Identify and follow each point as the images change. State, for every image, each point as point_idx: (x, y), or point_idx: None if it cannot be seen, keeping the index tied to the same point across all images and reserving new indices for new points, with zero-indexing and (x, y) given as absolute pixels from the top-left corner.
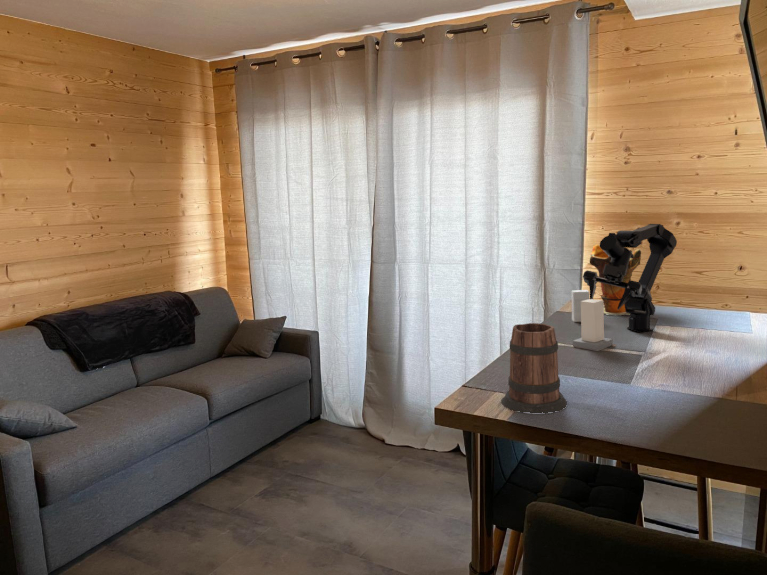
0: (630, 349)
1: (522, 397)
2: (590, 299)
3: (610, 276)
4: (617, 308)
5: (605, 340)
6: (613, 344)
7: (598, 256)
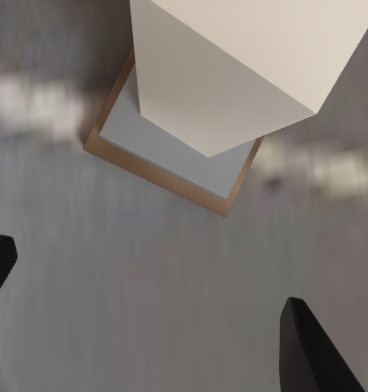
0: (28, 148)
1: None
2: (310, 74)
3: None
4: (12, 238)
5: (132, 101)
6: (100, 154)
7: None
